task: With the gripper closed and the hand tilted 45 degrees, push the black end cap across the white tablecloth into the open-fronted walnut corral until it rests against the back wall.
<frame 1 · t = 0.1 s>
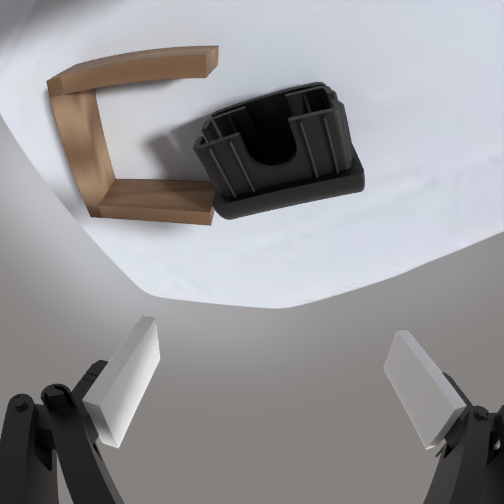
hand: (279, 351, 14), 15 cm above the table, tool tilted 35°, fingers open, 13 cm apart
corral: (147, 128, 20), on the table
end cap: (280, 132, 21), on the table
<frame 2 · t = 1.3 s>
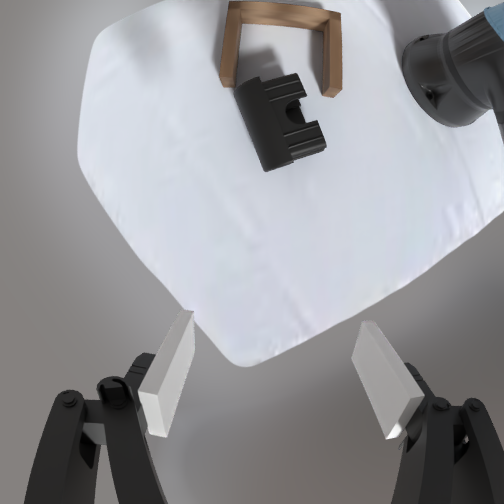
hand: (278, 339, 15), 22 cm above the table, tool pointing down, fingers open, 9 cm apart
corral: (281, 51, 29), on the table
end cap: (276, 127, 32), on the table
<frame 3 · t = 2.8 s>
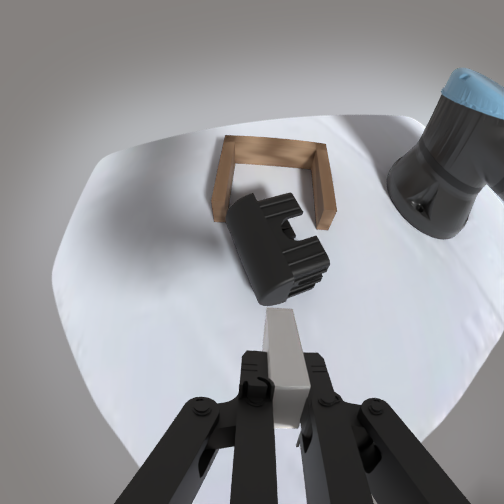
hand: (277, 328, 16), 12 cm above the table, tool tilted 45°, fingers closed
corral: (273, 188, 36), on the table
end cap: (270, 264, 31), on the table
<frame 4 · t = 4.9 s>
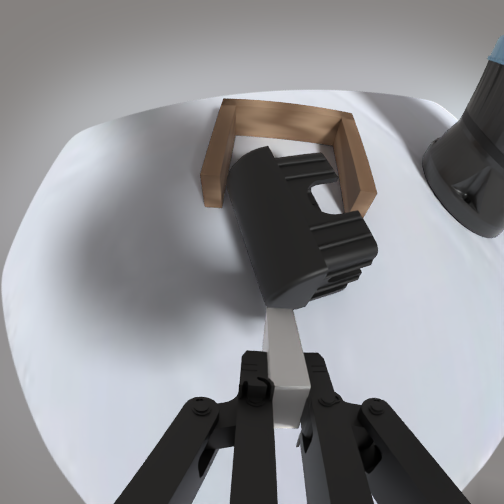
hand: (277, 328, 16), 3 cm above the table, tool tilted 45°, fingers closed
corral: (285, 166, 27), on the table
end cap: (285, 252, 22), on the table, touching gripper
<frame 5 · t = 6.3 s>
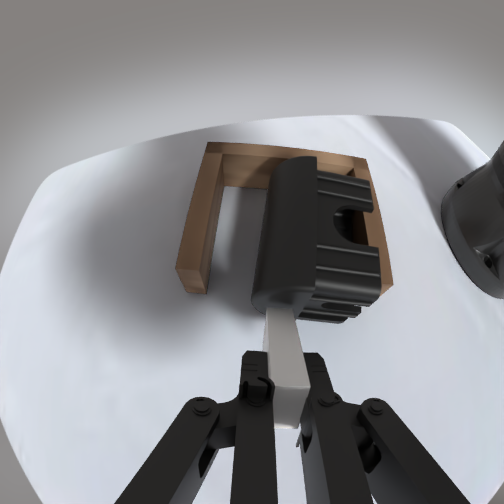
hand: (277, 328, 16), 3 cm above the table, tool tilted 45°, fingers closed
corral: (283, 231, 23), on the table
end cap: (302, 265, 22), on the table, touching gripper
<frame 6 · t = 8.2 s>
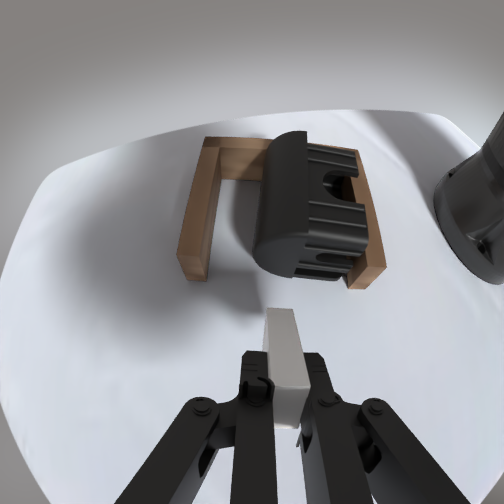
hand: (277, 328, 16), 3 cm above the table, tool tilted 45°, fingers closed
corral: (279, 220, 24), on the table
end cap: (298, 230, 24), on the table
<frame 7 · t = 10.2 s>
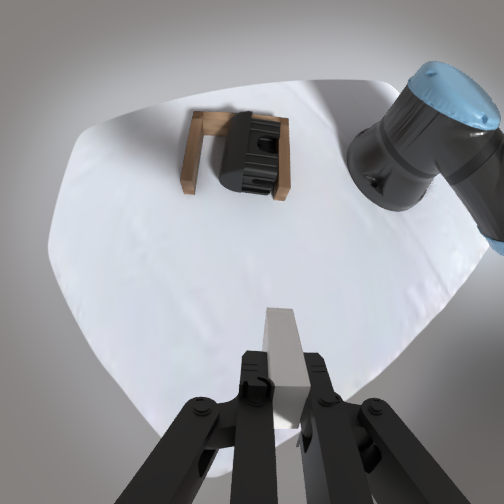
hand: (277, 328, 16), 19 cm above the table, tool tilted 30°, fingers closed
corral: (237, 160, 39), on the table
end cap: (247, 166, 40), on the table
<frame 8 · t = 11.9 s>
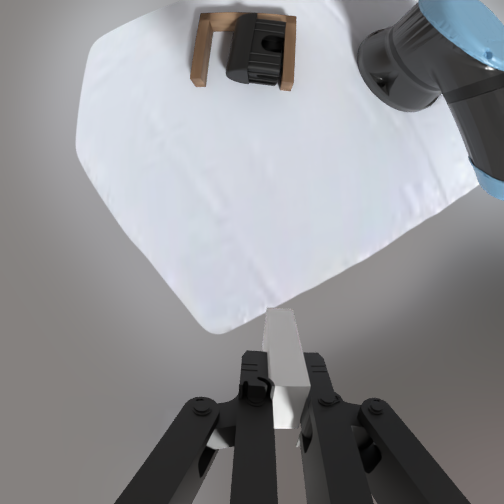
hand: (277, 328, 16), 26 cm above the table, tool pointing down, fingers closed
corral: (245, 53, 34), on the table
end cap: (256, 59, 34), on the table
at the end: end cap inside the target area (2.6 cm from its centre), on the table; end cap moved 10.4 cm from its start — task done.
